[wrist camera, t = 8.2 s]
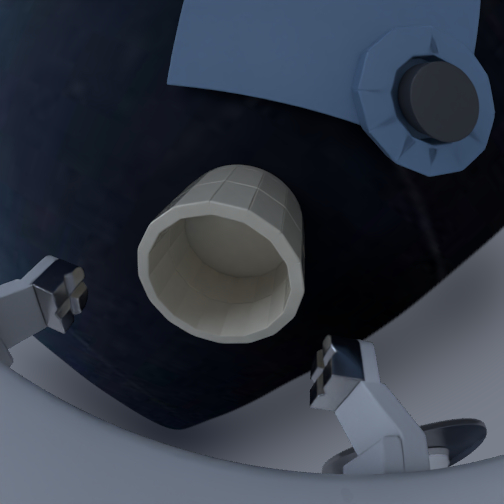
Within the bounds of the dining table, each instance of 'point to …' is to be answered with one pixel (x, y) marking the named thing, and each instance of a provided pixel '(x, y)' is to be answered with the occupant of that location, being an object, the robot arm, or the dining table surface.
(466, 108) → the button
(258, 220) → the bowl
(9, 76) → the dining table surface
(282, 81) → the scale
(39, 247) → the dining table surface
